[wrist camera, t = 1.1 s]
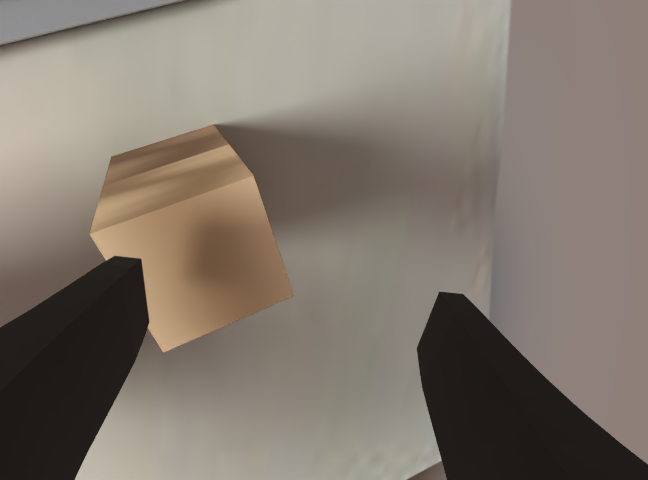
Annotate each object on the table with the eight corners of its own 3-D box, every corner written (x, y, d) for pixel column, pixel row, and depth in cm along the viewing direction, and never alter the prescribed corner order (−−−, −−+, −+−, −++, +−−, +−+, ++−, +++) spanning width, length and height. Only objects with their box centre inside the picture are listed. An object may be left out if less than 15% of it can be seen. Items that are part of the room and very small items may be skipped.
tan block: (157, 243, 19) (163, 352, 13) (111, 156, 17) (89, 233, 10) (245, 211, 20) (293, 295, 14) (213, 124, 18) (253, 175, 11)
